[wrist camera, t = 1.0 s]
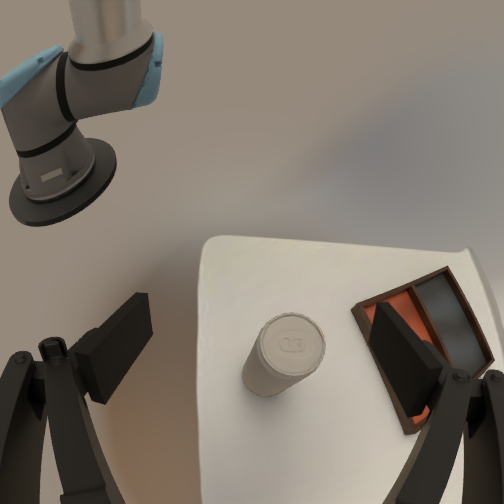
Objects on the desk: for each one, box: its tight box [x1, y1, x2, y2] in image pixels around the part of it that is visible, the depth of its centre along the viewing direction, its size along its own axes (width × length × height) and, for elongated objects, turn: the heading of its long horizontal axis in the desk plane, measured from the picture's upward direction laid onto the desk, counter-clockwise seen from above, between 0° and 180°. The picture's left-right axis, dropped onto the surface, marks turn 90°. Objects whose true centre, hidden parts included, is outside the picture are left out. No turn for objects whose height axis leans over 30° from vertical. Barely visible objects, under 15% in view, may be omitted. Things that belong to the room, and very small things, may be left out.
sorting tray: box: [351, 266, 495, 435], centre depth 31 cm, size 18×20×2 cm
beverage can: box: [242, 313, 326, 397], centre depth 23 cm, size 5×5×12 cm
